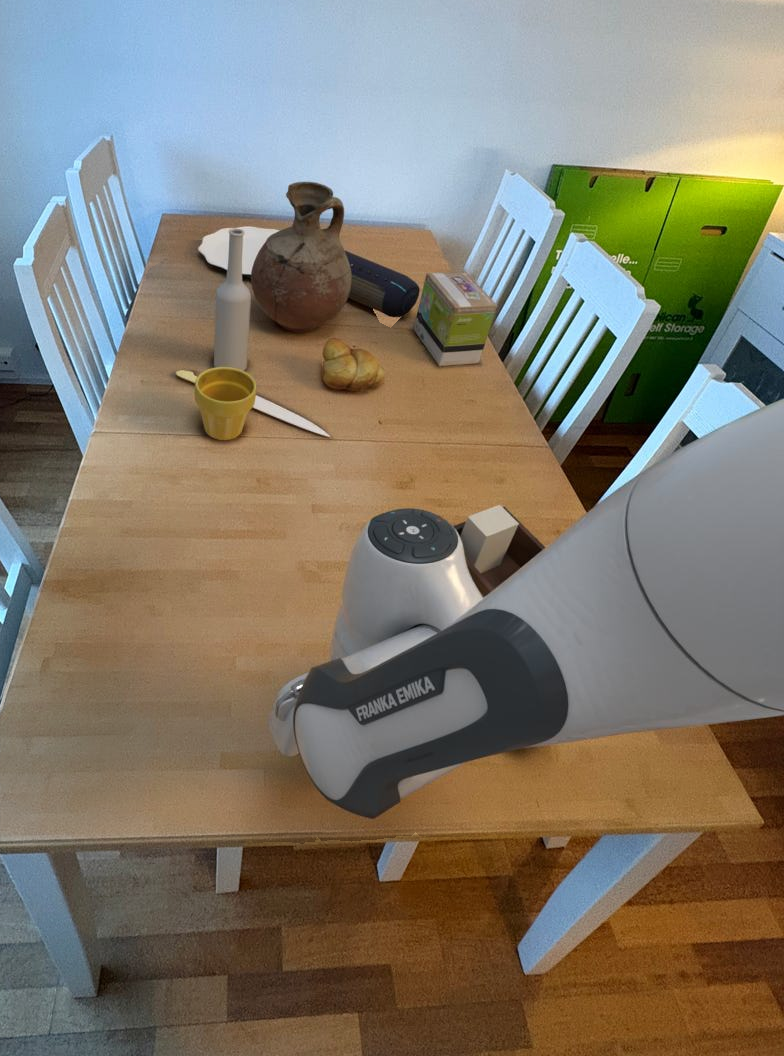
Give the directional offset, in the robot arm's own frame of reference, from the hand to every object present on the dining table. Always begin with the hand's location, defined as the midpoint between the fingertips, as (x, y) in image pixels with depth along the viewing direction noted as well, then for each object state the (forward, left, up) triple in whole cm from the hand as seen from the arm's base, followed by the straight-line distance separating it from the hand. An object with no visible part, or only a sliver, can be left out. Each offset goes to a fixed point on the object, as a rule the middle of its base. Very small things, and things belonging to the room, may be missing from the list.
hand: (357, 725), depth 68 cm
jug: (+87, -40, -8) cm, 96 cm away
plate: (+119, -45, -8) cm, 127 cm away
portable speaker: (+90, -60, -8) cm, 108 cm away
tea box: (+66, -66, -8) cm, 94 cm away
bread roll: (+62, -39, -8) cm, 74 cm away
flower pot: (+58, -10, -8) cm, 59 cm away
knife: (+63, -18, -8) cm, 66 cm away
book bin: (+11, -32, -8) cm, 35 cm away
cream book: (+16, -32, -7) cm, 36 cm away
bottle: (+76, -19, -8) cm, 79 cm away
